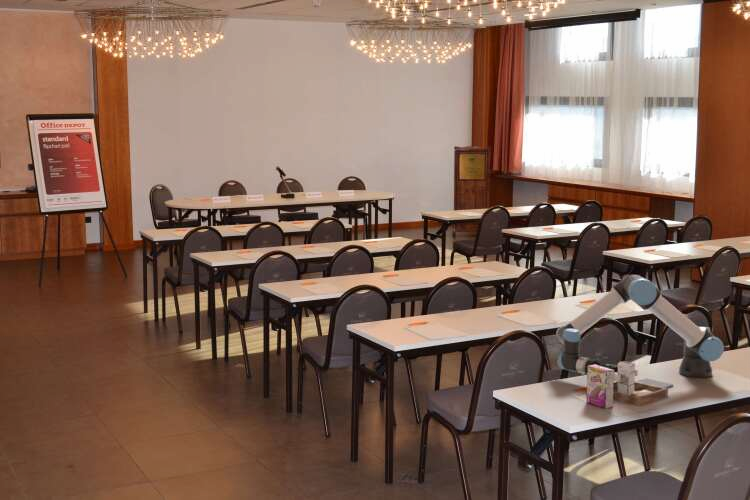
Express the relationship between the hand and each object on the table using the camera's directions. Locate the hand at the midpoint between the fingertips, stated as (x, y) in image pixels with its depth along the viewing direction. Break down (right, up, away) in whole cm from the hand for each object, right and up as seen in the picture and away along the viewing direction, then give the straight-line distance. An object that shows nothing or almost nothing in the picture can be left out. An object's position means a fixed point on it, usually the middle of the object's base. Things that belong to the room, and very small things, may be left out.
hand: (628, 375), depth 402 cm
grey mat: (+15, -7, +16) cm, 23 cm away
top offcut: (+5, -8, -4) cm, 10 cm away
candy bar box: (-16, -11, -13) cm, 24 cm away
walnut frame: (+1, -9, 0) cm, 9 cm away
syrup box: (-1, -9, +2) cm, 9 cm away
